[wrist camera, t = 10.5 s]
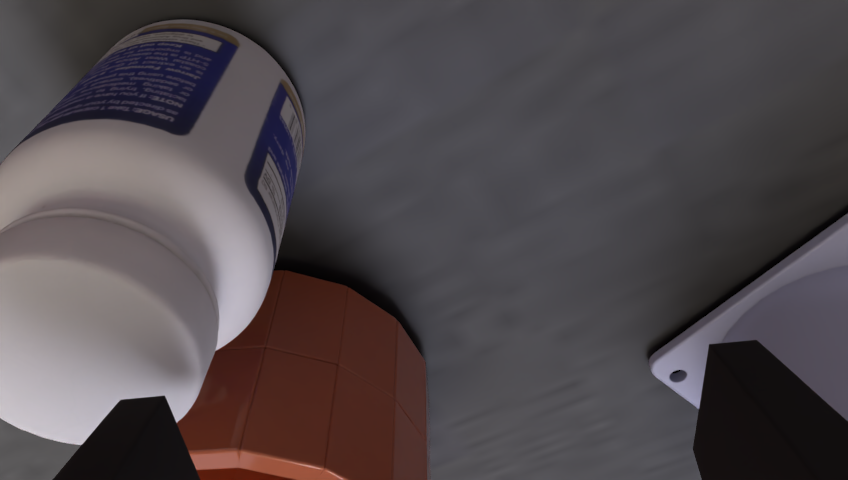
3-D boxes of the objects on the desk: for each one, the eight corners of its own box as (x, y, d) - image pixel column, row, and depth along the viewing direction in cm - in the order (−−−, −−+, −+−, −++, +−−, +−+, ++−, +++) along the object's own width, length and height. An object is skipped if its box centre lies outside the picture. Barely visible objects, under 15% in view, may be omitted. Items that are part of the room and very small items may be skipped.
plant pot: (487, 364, 24) (510, 568, 18) (313, 505, 27) (285, 710, 22) (242, 200, 20) (171, 386, 14) (83, 387, 24) (-24, 593, 18)
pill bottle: (59, 127, 19) (-170, 372, 12) (166, -34, 17) (-30, 142, 9) (234, 241, 21) (135, 513, 14) (351, 111, 19) (309, 349, 11)
